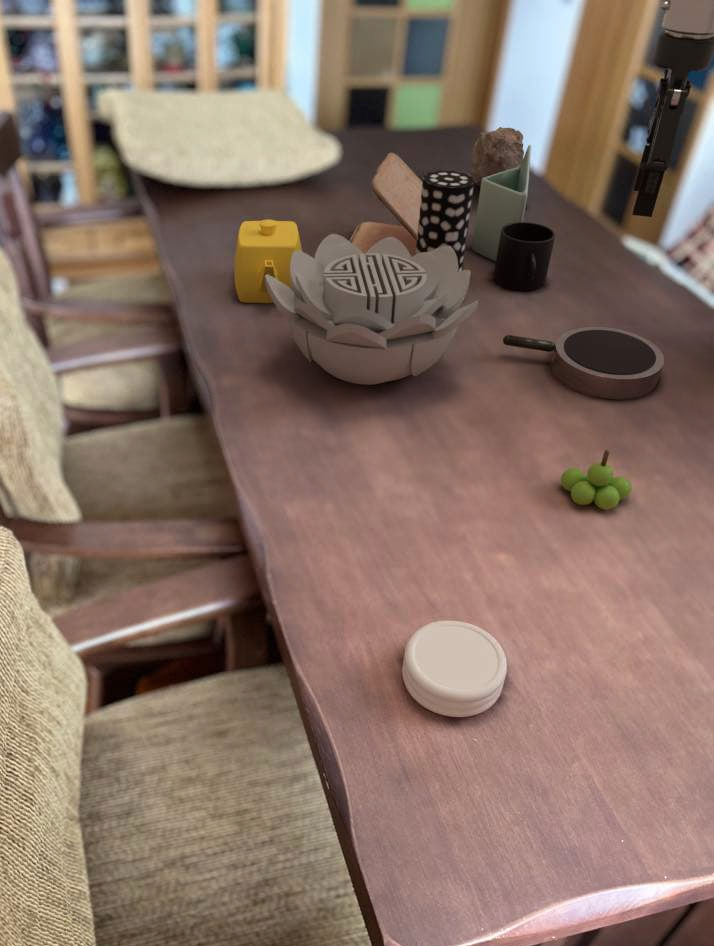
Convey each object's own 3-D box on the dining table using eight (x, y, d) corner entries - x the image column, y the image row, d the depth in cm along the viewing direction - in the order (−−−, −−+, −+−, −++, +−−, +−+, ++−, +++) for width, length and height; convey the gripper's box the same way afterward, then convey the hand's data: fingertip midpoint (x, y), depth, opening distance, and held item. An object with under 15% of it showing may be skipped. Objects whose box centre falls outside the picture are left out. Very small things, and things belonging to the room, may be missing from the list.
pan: (657, 355, 131) (664, 335, 129) (657, 407, 120) (665, 385, 118) (506, 332, 137) (510, 312, 134) (493, 380, 125) (497, 359, 123)
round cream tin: (502, 727, 78) (508, 704, 76) (397, 711, 79) (400, 688, 77) (502, 647, 85) (507, 625, 83) (406, 634, 86) (409, 611, 84)
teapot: (304, 315, 140) (305, 247, 132) (232, 315, 140) (228, 247, 132) (303, 266, 155) (303, 202, 147) (237, 266, 155) (234, 202, 147)
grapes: (628, 492, 105) (645, 444, 100) (627, 518, 101) (644, 470, 96) (559, 479, 107) (572, 431, 102) (556, 505, 103) (569, 456, 98)
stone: (532, 213, 177) (546, 138, 167) (488, 215, 176) (500, 140, 166) (499, 178, 193) (510, 108, 183) (458, 180, 192) (467, 109, 182)
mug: (501, 298, 146) (510, 248, 140) (488, 269, 155) (496, 221, 149) (554, 298, 146) (565, 248, 140) (538, 269, 155) (548, 221, 149)
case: (445, 281, 151) (456, 192, 140) (334, 267, 155) (337, 179, 144) (460, 239, 166) (472, 155, 155) (359, 227, 170) (363, 145, 159)
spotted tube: (465, 291, 148) (482, 176, 134) (446, 309, 142) (462, 191, 129) (423, 281, 151) (435, 167, 138) (403, 298, 146) (414, 181, 132)
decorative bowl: (264, 321, 138) (262, 233, 128) (438, 318, 140) (450, 230, 130) (270, 422, 116) (268, 324, 106) (478, 416, 118) (495, 319, 108)
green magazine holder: (471, 233, 168) (486, 129, 155) (510, 236, 167) (528, 131, 154) (471, 266, 156) (488, 156, 143) (514, 269, 155) (534, 159, 142)
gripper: (659, 15, 118) (618, 176, 133) (660, 48, 102) (614, 226, 117) (714, 19, 117) (667, 181, 132) (724, 52, 101) (669, 233, 115)
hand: (642, 202), depth 124 cm, fingers open, 10 cm apart
